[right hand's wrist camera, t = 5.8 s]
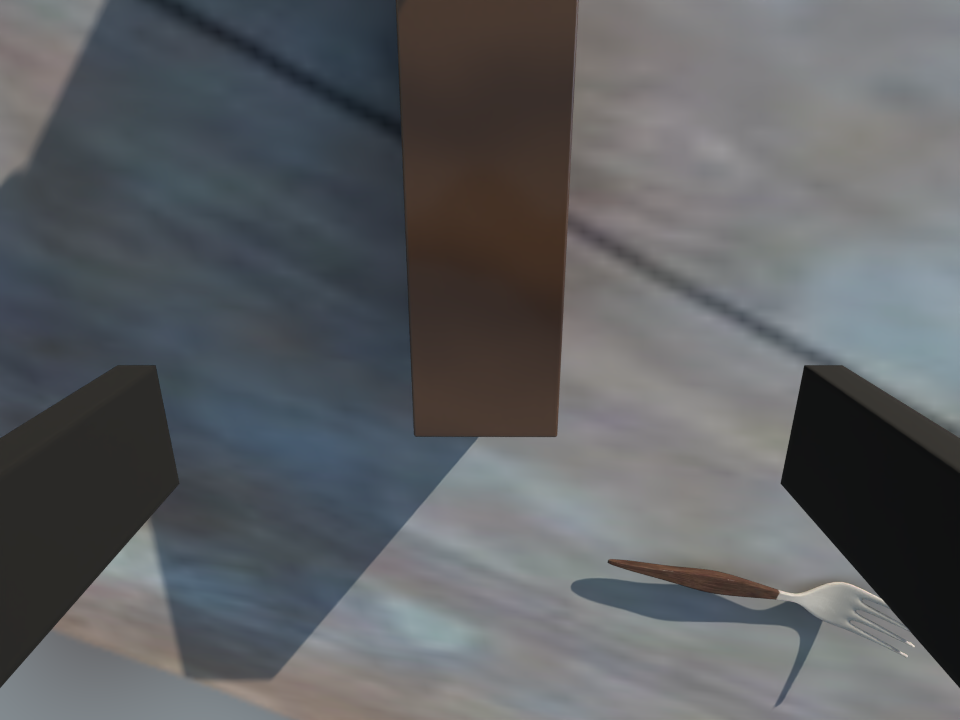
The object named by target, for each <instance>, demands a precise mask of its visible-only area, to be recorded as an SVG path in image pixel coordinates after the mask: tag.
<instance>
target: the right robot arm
mask: <svg viewBox="0 0 960 720" xmlns="http://www.w3.org/2000/svg"><path fill="white" fill-rule="evenodd" d="M178 484H179V479H178V474H177V469H176V464H175V459H174V454H173V450H172V445H171V440H170V435H169V430H168V425H167V420H166V415H165V410H164V405H163V400H162V395H161V390H160V385H159V380H158V375H157V370H156V365H118V366H116V367H114V368H113V369H111V370H109V371H108V372H106V373H105V374H103V375H101V376H100V377H98V378H97V379H95V380H93V381H92V382H90V383H89V384H87V385H85V386H84V387H82V388H80V389H79V390H77V391H76V392H74V393H72V394H71V395H69V396H68V397H66V398H64V399H63V400H61V401H60V402H58V403H56V404H55V405H53V406H51V407H50V408H48V409H47V410H45V411H43V412H42V413H40V414H39V415H37V416H35V417H34V418H32V419H31V420H29V421H27V422H26V423H24V424H22V425H21V426H19V427H18V428H16V429H14V430H13V431H11V432H10V433H8V434H6V435H5V436H3V437H2V438H0V688H1V686H2V685H3V684H4V683H5V682H6V681H7V680H8V678H9V677H10V676H11V675H12V674H13V673H14V672H15V670H16V669H17V668H18V667H19V666H20V665H21V664H22V662H23V661H24V660H25V659H26V658H27V657H28V656H29V654H30V653H31V652H32V651H33V650H34V649H35V648H36V646H37V645H38V644H39V643H40V642H41V641H42V640H43V638H44V637H45V636H46V635H47V634H48V633H49V632H50V631H51V629H52V628H53V627H54V626H55V625H56V624H57V623H58V621H59V620H60V619H61V618H62V617H63V616H64V615H65V613H66V612H67V611H68V610H69V609H70V608H71V607H72V605H73V604H74V603H75V602H76V601H77V600H78V599H79V597H80V596H81V595H82V594H83V593H84V592H85V591H86V589H87V588H88V587H89V586H90V585H91V584H92V583H93V581H94V580H95V579H96V578H97V577H98V576H99V575H100V573H101V572H102V571H103V570H104V569H105V568H106V567H107V565H108V564H109V563H110V562H111V561H112V560H113V559H114V558H115V556H116V555H117V554H118V553H119V552H120V551H121V550H122V548H123V547H124V546H125V545H126V544H127V543H128V542H129V540H130V539H131V538H132V537H133V536H134V535H135V534H136V532H137V531H138V530H139V529H140V528H141V527H142V526H143V524H144V523H145V522H146V521H147V520H148V519H149V518H150V516H151V515H152V514H153V513H154V512H155V511H156V510H157V508H158V507H159V506H160V505H161V504H162V503H163V502H164V500H165V499H166V498H167V497H168V496H169V495H170V494H171V492H172V491H173V490H174V489H175V488H176V487H177V486H178ZM781 484H782V486H783V487H784V488H785V489H786V490H787V491H788V492H789V494H790V495H791V496H792V497H793V498H794V499H795V500H796V502H797V503H798V504H799V505H800V506H801V507H802V508H803V510H804V511H805V512H806V513H807V514H808V515H809V516H810V518H811V519H812V520H813V521H814V522H815V523H816V524H817V526H818V527H819V528H820V529H821V530H822V531H823V532H824V534H825V535H826V536H827V537H828V538H829V539H830V540H831V542H832V543H833V544H834V545H835V546H836V547H837V548H838V550H839V551H840V552H841V553H842V554H843V555H844V556H845V558H846V559H847V560H848V561H849V562H850V563H851V564H852V565H853V567H854V568H855V569H856V570H857V571H858V572H859V573H860V575H861V576H862V577H863V578H864V579H865V580H866V581H867V583H868V584H869V585H870V586H871V587H872V588H873V589H874V591H875V592H876V593H877V594H878V595H879V596H880V597H881V599H882V600H883V601H884V602H885V603H886V604H887V605H888V607H889V608H890V609H891V610H892V611H893V612H894V613H895V615H896V616H897V617H898V618H899V619H900V620H901V621H902V623H903V624H904V625H905V626H906V627H907V628H908V629H909V631H910V632H911V633H912V634H913V635H914V636H915V637H916V639H917V640H918V641H919V642H920V643H921V644H922V645H923V646H924V648H925V649H926V650H927V651H928V652H929V653H930V654H931V656H932V657H933V658H934V659H935V660H936V661H937V662H938V664H939V665H940V666H941V667H942V668H943V669H944V670H945V672H946V673H947V674H948V675H949V676H950V677H951V678H952V680H953V681H954V682H955V683H956V684H957V685H958V686H959V688H960V438H958V437H957V436H955V435H954V434H952V433H950V432H949V431H947V430H946V429H944V428H942V427H941V426H939V425H938V424H936V423H934V422H933V421H931V420H929V419H928V418H926V417H925V416H923V415H921V414H920V413H918V412H917V411H915V410H913V409H912V408H910V407H909V406H907V405H905V404H904V403H902V402H900V401H899V400H897V399H896V398H894V397H892V396H891V395H889V394H888V393H886V392H884V391H883V390H881V389H880V388H878V387H876V386H875V385H873V384H871V383H870V382H868V381H867V380H865V379H863V378H862V377H860V376H859V375H857V374H855V373H854V372H852V371H851V370H849V369H847V368H846V367H844V366H842V365H804V370H803V375H802V380H801V385H800V390H799V395H798V400H797V405H796V410H795V415H794V420H793V425H792V430H791V435H790V440H789V445H788V450H787V454H786V459H785V464H784V469H783V474H782V479H781Z"/></svg>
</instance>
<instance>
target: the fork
mask: <svg viewBox="0 0 960 720" xmlns="http://www.w3.org/2000/svg"><path fill="white" fill-rule="evenodd" d="M608 563H609V564H611V565H614V566H617V567H620V568H623V569H626V570H630V571H633V572H637V573H640V574H644V575H648V576H651V577H655V578H659V579H662V580H666V581H669V582H673V583H676V584H679V585H683V586H686V587H689V588H693V589H697V590H700V591H704V592H709V593H714V594H721V595H730V596H741V597H753V598H765V599H776V600H785V601H791V602H795V603H797V604H799V605H801V606H802V607H804V608H805V609H806V610H807V611H808V612H809V613H811V614H812V615H814V616H815V617H817V618H818V619H820V620H823V621H825V622H827V623H830V624H832V625H835V626H838V627H841V628H844V629H846V630H849V631H851V632H854V633H856V634H858V635H860V636H863V637H865V638H867V639H869V640H871V641H873V642H876V643H878V644H880V645H882V646H884V647H886V648H888V649H890V650H892V651H895V652H897V653H899V654H901V655H902V656H904V657H906V658H908V655H906V654H904V653H902V652H901V651H899V650H897V649H895V648H894V647H892V646H890V645H888V644H887V643H885V642H883V641H881V640H880V639H878V638H876V637H874V636H872V635H871V634H869V633H867V632H865V631H863V630H861V629H859V628H858V627H856V626H854V625H853V624H851V623H850V621H851V620H853V621H857V622H860V623H862V624H865V625H867V626H869V627H871V628H874V629H876V630H878V631H880V632H883V633H885V634H887V635H889V636H891V637H893V638H895V639H898V640H900V641H902V642H904V643H906V644H908V645H910V646H912V647H914V645H913V644H911V643H910V642H908V641H906V640H904V639H903V638H901V637H899V636H897V635H896V634H894V633H892V632H890V631H888V630H887V629H885V628H883V627H881V626H879V625H877V624H876V623H874V622H872V621H870V620H868V619H866V618H864V617H862V616H861V615H859V614H858V613H857V612H856V610H861V611H865V612H867V613H870V614H872V615H874V616H876V617H879V618H881V619H883V620H886V621H888V622H890V623H892V624H894V625H897V626H899V627H901V628H903V629H905V630H908V631H909V629H908V628H907V627H906V626H905V625H903V624H901V623H899V622H898V621H896V620H894V619H892V618H890V617H888V616H887V615H885V614H883V613H881V612H879V611H877V610H875V609H873V608H871V607H870V606H868V605H866V604H865V603H863V602H862V600H863V599H866V600H870V601H872V602H875V603H877V604H880V605H882V606H884V607H887V608H889V607H888V605H887V604H886V603H885V602H884V601H883V600H882V599H881V598H879V597H877V596H875V595H873V594H871V593H869V592H867V591H865V590H863V589H861V588H858V587H856V586H854V585H851V584H848V583H844V582H832V583H827V584H824V585H821V586H818V587H816V588H813V589H811V590H809V591H806V592H803V593H797V594H794V593H788V592H784V591H780V590H777V589H774V588H771V587H768V586H765V585H762V584H759V583H755V582H752V581H749V580H746V579H743V578H740V577H737V576H733V575H730V574H726V573H722V572H718V571H712V570H705V569H696V568H686V567H675V566H666V565H658V564H651V563H644V562H636V561H628V560H616V559H610V560H608ZM889 609H890V608H889Z"/></svg>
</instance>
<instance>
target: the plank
mask: <svg viewBox="0 0 960 720" xmlns="http://www.w3.org/2000/svg"><path fill="white" fill-rule="evenodd" d="M578 3H579V0H396V19H397V43H398V66H399V90H400V114H401V138H402V162H403V186H404V210H405V233H406V257H407V281H408V305H409V329H410V353H411V377H412V401H413V424H414V435H415V436H416V437H556V436H557V429H558V408H559V388H560V368H561V347H562V327H563V307H564V287H565V266H566V246H567V226H568V205H569V185H570V165H571V145H572V124H573V104H574V84H575V63H576V43H577V23H578Z"/></svg>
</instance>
